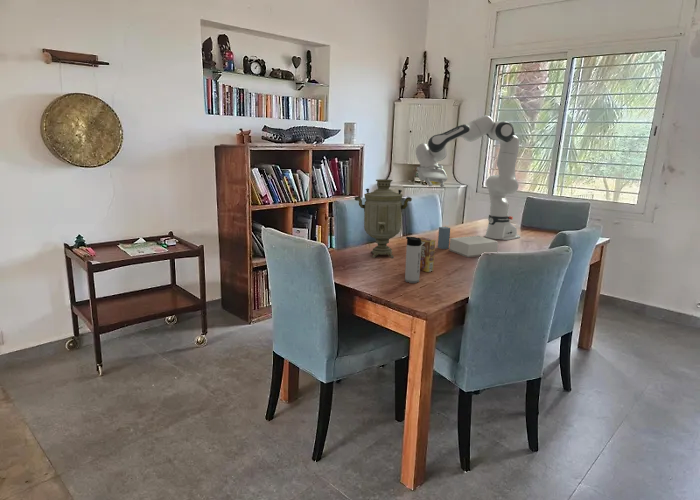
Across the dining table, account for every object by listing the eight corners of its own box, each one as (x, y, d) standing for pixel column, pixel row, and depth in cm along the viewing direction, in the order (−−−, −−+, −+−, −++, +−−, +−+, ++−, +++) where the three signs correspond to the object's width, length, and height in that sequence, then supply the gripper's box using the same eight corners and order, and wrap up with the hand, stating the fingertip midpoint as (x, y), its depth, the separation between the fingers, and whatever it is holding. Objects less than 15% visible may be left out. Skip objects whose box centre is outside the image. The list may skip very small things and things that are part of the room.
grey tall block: (444, 246, 267) (445, 226, 264) (448, 248, 263) (450, 228, 261) (437, 247, 266) (439, 227, 263) (442, 249, 262) (443, 228, 259)
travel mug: (402, 279, 206) (404, 235, 202) (417, 278, 207) (419, 235, 202) (405, 283, 200) (407, 238, 195) (420, 283, 201) (423, 238, 196)
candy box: (433, 271, 219) (436, 239, 216) (427, 272, 217) (429, 241, 213) (420, 266, 226) (421, 236, 222) (413, 268, 223) (415, 237, 220)
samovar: (344, 259, 237) (345, 181, 228) (361, 247, 261) (362, 176, 251) (401, 265, 228) (404, 184, 218) (412, 253, 251) (416, 179, 242)
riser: (477, 247, 268) (478, 235, 266) (497, 254, 253) (499, 241, 251) (448, 250, 259) (449, 238, 258) (467, 257, 245) (468, 244, 243)
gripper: (418, 162, 269) (426, 181, 264) (444, 165, 280) (452, 184, 275) (412, 169, 274) (420, 188, 268) (438, 172, 285) (446, 190, 279)
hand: (436, 186), depth 272 cm, fingers open, 8 cm apart
